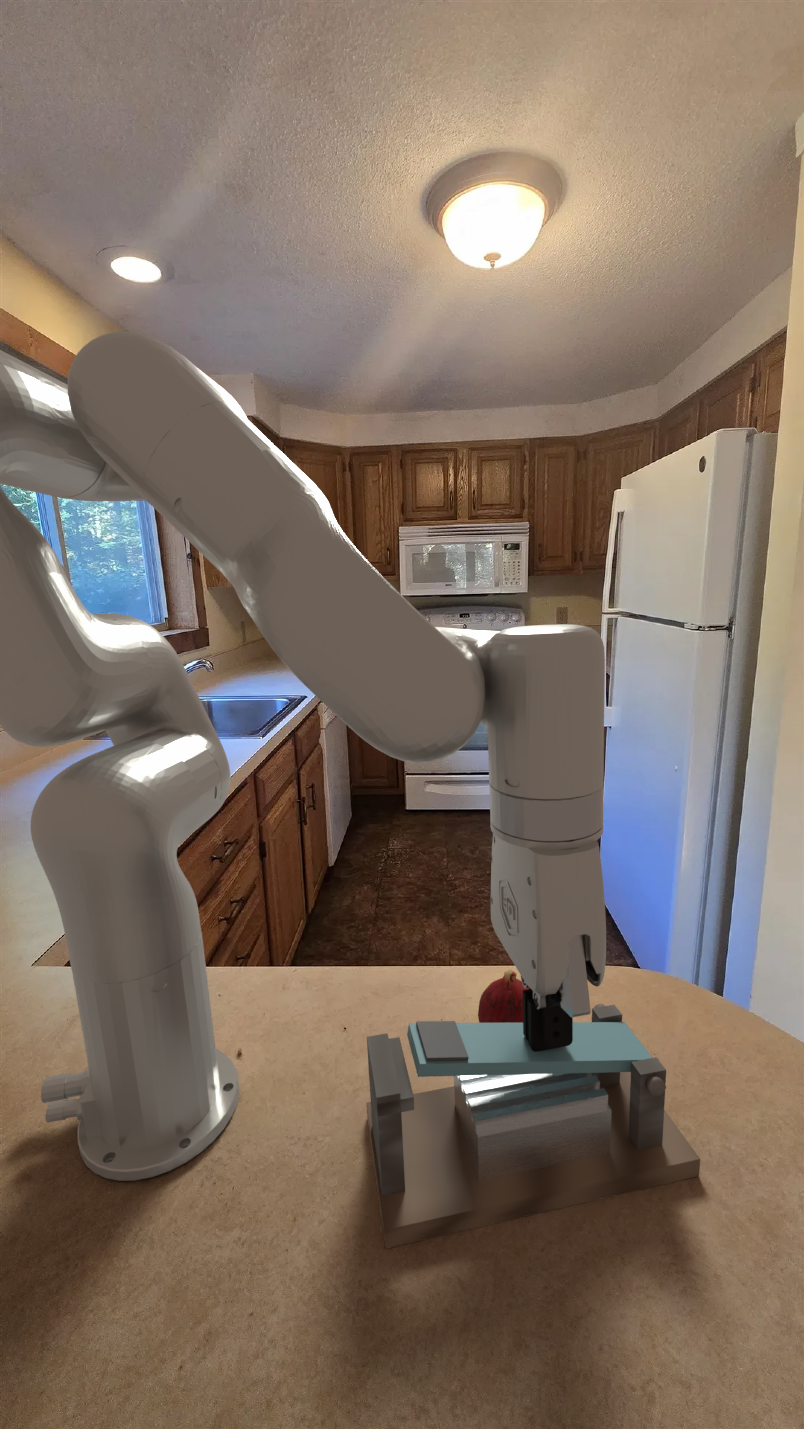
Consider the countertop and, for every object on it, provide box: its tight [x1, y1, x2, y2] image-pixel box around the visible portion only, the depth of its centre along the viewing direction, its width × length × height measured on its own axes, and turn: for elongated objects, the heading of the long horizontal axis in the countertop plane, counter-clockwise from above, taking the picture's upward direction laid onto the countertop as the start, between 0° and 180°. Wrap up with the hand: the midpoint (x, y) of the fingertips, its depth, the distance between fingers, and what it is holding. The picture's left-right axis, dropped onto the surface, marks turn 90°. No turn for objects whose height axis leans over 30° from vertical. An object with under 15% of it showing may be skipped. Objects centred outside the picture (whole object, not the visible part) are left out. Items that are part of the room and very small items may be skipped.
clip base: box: [366, 1003, 701, 1249], centre depth 44 cm, size 23×10×10 cm, turn 100°
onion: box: [477, 969, 529, 1023], centre depth 54 cm, size 6×6×8 cm
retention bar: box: [406, 1020, 654, 1078], centre depth 43 cm, size 18×4×1 cm, turn 100°
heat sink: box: [453, 1073, 611, 1181], centre depth 44 cm, size 10×6×4 cm, turn 100°
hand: (547, 1040), depth 43 cm, fingers closed
